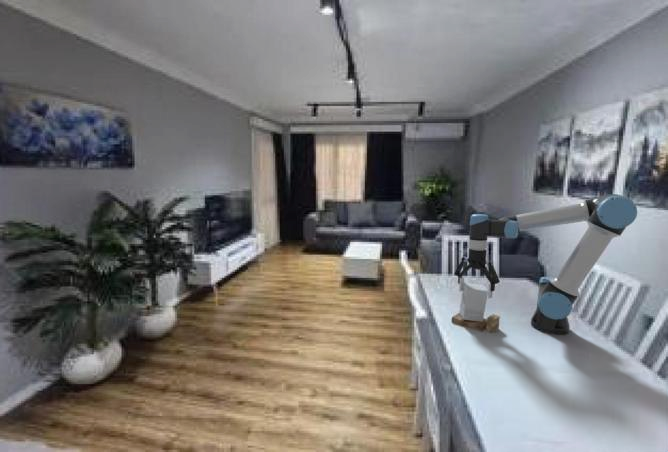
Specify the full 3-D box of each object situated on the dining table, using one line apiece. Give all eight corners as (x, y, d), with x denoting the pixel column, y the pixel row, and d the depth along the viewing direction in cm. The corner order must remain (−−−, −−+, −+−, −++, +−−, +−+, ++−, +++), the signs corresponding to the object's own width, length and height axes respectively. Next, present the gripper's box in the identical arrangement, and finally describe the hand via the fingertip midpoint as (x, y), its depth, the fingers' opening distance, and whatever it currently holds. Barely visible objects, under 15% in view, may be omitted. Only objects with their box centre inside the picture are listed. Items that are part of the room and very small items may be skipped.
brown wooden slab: (490, 326, 169) (490, 320, 168) (481, 332, 161) (481, 326, 161) (460, 317, 178) (461, 311, 178) (451, 323, 171) (451, 317, 171)
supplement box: (478, 314, 174) (483, 284, 171) (483, 322, 165) (488, 291, 162) (458, 311, 175) (463, 281, 172) (462, 319, 166) (467, 288, 164)
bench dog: (498, 328, 164) (499, 316, 163) (492, 332, 160) (493, 319, 159) (491, 326, 166) (493, 314, 166) (486, 330, 162) (487, 317, 161)
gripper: (509, 251, 158) (506, 298, 161) (456, 243, 176) (454, 286, 179) (502, 254, 153) (499, 303, 156) (448, 245, 171) (446, 289, 174)
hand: (475, 294), depth 168 cm, fingers open, 13 cm apart
